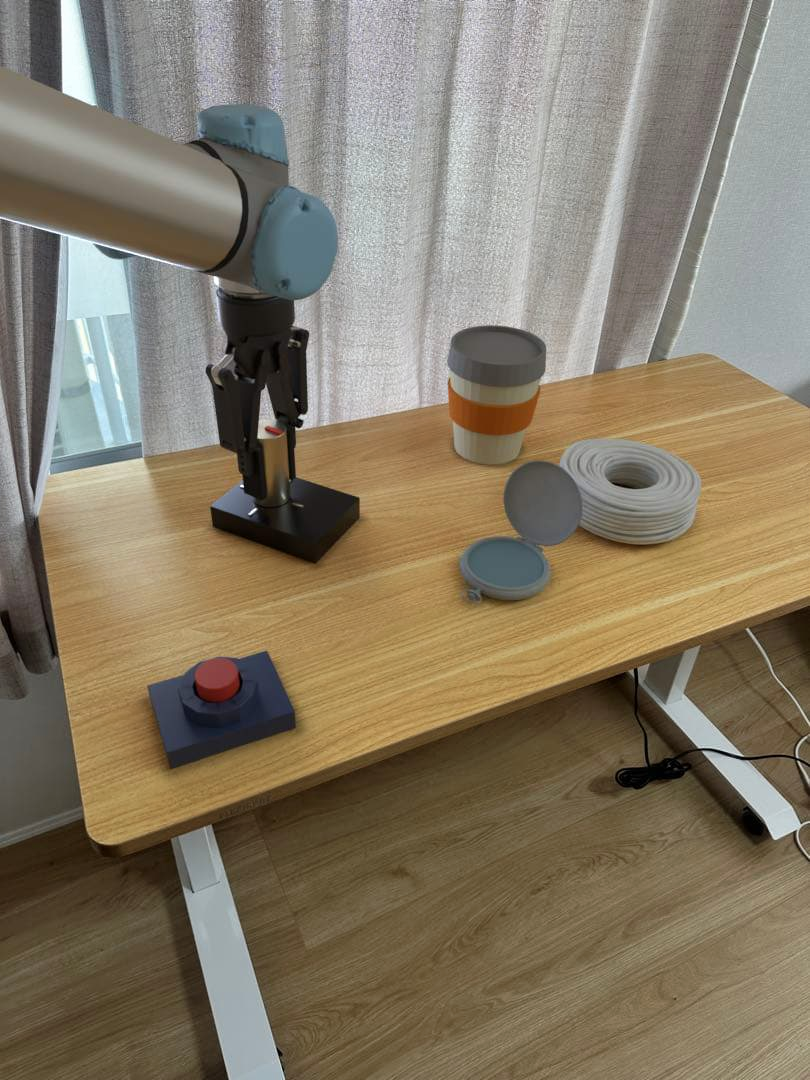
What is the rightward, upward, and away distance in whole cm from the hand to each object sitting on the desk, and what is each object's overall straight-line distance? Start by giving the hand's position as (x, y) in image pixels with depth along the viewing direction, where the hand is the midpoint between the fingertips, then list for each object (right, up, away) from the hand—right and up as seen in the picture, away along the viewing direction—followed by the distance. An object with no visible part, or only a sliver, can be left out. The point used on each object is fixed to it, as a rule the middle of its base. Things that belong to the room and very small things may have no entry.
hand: (270, 484), depth 93 cm
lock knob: (0, -1, +1) cm, 2 cm away
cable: (+42, -2, +7) cm, 43 cm away
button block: (-1, -22, -21) cm, 30 cm away
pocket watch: (+27, -10, -4) cm, 29 cm away
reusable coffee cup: (+27, +6, +18) cm, 33 cm away
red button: (-1, -19, -23) cm, 30 cm away
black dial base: (+2, -4, +2) cm, 5 cm away
